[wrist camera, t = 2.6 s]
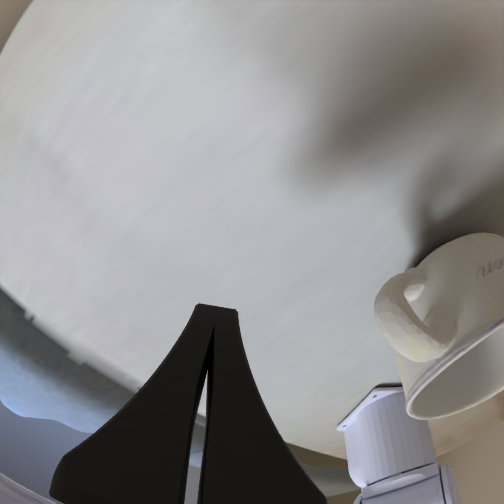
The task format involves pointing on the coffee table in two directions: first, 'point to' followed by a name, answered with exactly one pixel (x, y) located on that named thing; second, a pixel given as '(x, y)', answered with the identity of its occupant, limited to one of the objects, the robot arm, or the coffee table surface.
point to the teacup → (448, 326)
